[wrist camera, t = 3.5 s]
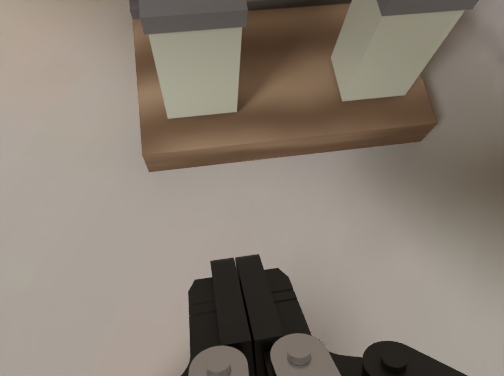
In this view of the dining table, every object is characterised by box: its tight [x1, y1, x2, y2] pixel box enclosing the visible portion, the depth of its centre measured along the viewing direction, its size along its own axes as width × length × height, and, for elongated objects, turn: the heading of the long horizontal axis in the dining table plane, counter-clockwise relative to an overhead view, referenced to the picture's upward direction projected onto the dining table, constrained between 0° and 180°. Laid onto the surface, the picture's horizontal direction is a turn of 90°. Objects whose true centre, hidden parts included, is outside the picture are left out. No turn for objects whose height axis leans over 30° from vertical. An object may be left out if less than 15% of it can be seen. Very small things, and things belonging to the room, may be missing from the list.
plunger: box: [331, 0, 478, 101], centre depth 29 cm, size 4×5×10 cm
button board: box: [130, 0, 437, 172], centre depth 35 cm, size 16×22×5 cm
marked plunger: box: [139, 0, 248, 119], centre depth 27 cm, size 4×5×10 cm
